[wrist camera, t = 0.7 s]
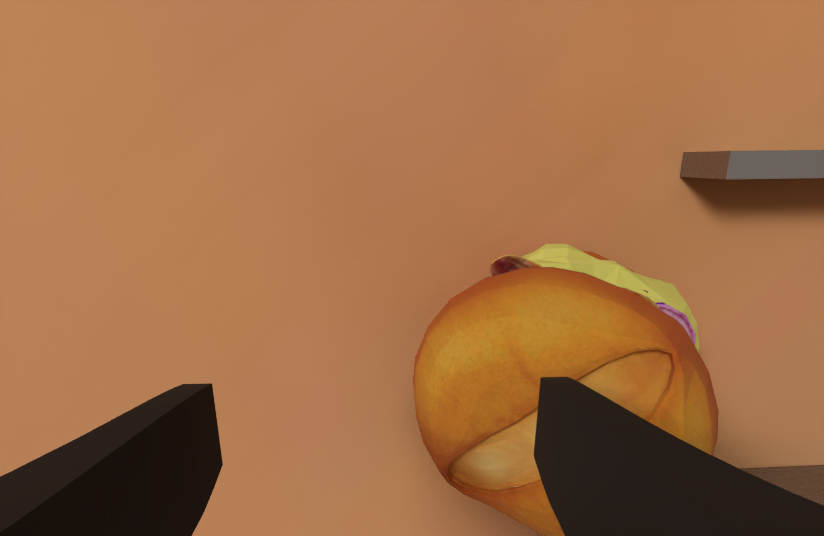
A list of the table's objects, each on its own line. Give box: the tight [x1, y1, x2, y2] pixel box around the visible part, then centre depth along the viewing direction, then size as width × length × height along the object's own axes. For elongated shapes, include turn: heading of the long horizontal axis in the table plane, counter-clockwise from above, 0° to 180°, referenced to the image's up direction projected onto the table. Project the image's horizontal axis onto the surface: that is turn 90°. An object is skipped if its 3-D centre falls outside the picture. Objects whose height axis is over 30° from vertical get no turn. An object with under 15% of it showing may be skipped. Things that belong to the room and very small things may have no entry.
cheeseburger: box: [413, 244, 718, 536], centre depth 16 cm, size 10×11×10 cm
